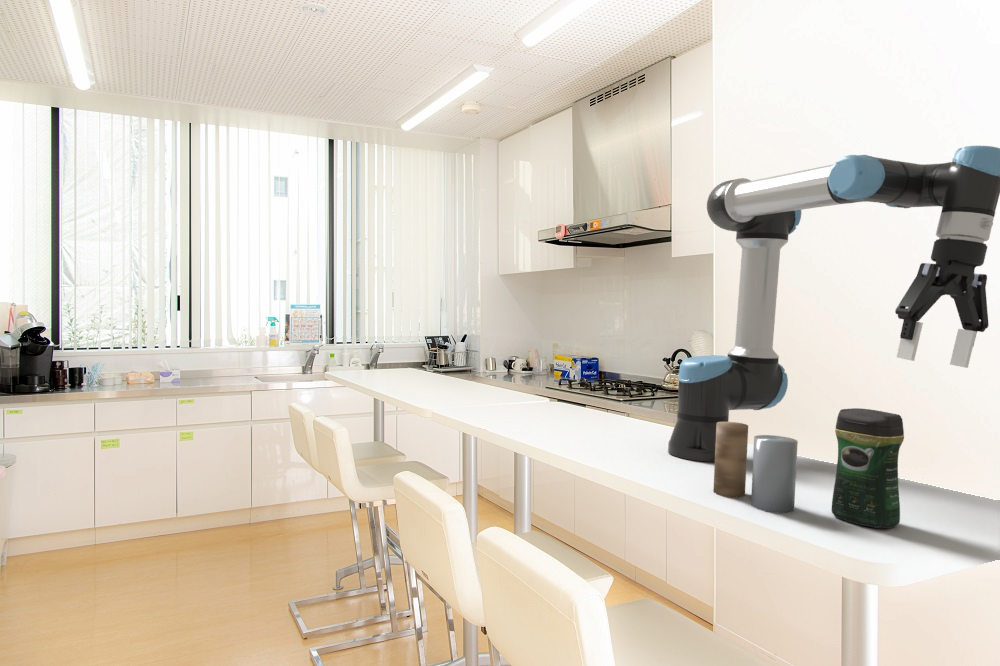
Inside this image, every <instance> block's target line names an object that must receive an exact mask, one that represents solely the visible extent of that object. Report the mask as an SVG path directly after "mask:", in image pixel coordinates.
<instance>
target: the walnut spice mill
mask: <svg viewBox="0 0 1000 666" xmlns="http://www.w3.org/2000/svg"><path fill="white" fill-rule="evenodd" d="M748 438H749V425H748V424H745V423H742V422H736V421H735V422H734V421H728V422H717V424H716V446H715V462H714V469H713V470H714V473H713V490H712V491H713V493H714V494H715V493H716V494H715V495H719V496H721V497H725V496H726V497H727V498H732V499H733V498H743V497H745V496H746V482H747V481H746V480H747V464H748V463H747V462H748V459H747V458H748V440H749V439H748Z"/></svg>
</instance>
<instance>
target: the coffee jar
mask: <svg viewBox="0 0 1000 666" xmlns="http://www.w3.org/2000/svg"><path fill="white" fill-rule="evenodd" d="M835 423H836V424H835V429H834V430H835V431H834V432H835V436H836V439H837V463H836V473H835V479H834V485H833V493H832V500H831V513H832V514H833V516H834V517H836V518H838V519H841V520H844V521H846V522H850V523H853V524H856V525H859V526H864V527H868V528H874V529H875V528H877V529H878V528H883V529H891V528H894V527H896V526H897V525H899V524H900V521H901V506H900V505H901V504H900V503H901V502H900V490H899V454H900V450H901V449H900V448H901V447H902V444H903V442H904V439H905V435H904V434H905V430H904V423H903V417H902V416H901V415H900V414H897V413H893V412H887V411H882V410H875V409H871V408H870V409H869V408H858V407H857V408H856V407H855V408H842V409H840V411H839V412H838V415H837V418H836V422H835Z"/></svg>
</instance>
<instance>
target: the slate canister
mask: <svg viewBox="0 0 1000 666" xmlns="http://www.w3.org/2000/svg"><path fill="white" fill-rule="evenodd" d="M752 457H753V458H752V472H751V473H752V477H751V497H750V498H751V500H750V501H751V502H750V505H751V507H753V508H755V509H757V510H760V511H763V512H766V513H767V512H769V513H774V514H790V513H793V512H794V511H795V501H796V499H795V498H796V479H797V459H798V439H795V438H791V437H788V436H782V435H781V436H780V435H771V434H759V435H758V434H757V435H754V437H753V452H752Z"/></svg>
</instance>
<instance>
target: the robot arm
mask: <svg viewBox="0 0 1000 666" xmlns="http://www.w3.org/2000/svg"><path fill="white" fill-rule="evenodd" d="M999 197H1000V147H997V146H992V145H991V146H990V145H967V146H964V147H960V148H957V150H956V151H955V153H954V154H953V157H952V158H951V161H949V162H944V163H931V164H930V163H927V164H920V163H914V162H906V161H899V160H894V159H893V160H892V159H886V158H883V157H876V156H871V155H867V154H859V155H857V154H849V155H846V156H842V157H841V158H840V159H839V160H838V161H836V162H835V163H834V164H830V165H823V166H819V167H815V168H808V169H804V170H800V171H795V172H790V173H785V174H780V175H774V176H769V177H764V178H759V179H755V180H750V179H748V178H744V177H742V178H735V179H730V180H726V181H723V182H721V183H719V184H717V185H716V186H715V187H714V188H713V189H712V190H711V192H710V194H708V198H707V200H706V212H707V214H708V215H707V216H708V217H709V219H710V220H711V222H712V223H713V224H715V226H716V227H719V228H720V229H722V230H724V231H725V230H726V231H728V232H729V231H730V232H736V236H735V242H736V243H737V244H738V245H739V247H741V258H740V271H739V273H740V274H739V284H738V285H739V286H738V298H737V299H738V301H737V312H736V313H737V314H736V324H735V325H736V326H735V340H734V347H732V348H731V349H730V350H729V351H727V356H726V355H714V354H713V355H699V356H691V357H687V358H685V359H683V360H682V361H681V363H680V365H679V370H678V376H677V380H678V391H677V414H676V415H677V417H676V422H675V425H674V428H673V429H672V432H671V436H670V439H669V441H668V447H667V448H668V449H667V452H668V453H669V454H670V455H672V456H675V457H676V458H677V457H678V458H681V459H685V460H692V461H699V462H709V463H710V462H713V463H715V446H716V424H717V422H729V419H730V417H729V416H730V411H739V410H740V411H741V410H743V411H744V410H753V411H760V410H764V409H765V410H766V409H771V408H774V407H775V406H777V404H779V403H781V401H782V400H783V399H784V397H785V395H786V393H787V390H788V384H789V379H788V374H787V372H785V368H784V366H783V365H782V364H780V363H779V359H780V356H779V354H777V353H776V351H775V350H774V348H773V347H774V335H775V322H776V308H777V299H778V298H777V297H778V296H777V295H778V285H779V284H778V282H779V272H780V256H781V249H782V248H783V247H784V246H785V245H786V244H787V243H788V242H789V235H791V234H792V233H794V232H795V230H796V229H797V226H799V224H800V222H801V219H802V210H808V209H815V208H822V207H830V206H836V205H845V204H846V205H847V204H848V205H849V204H855V203H865V202H866V203H867V202H869V203H879V204H885V205H886V206H887V207H889V208H890V207H891V208H900V209H901V208H903V209H910V208H923V207H924V208H927V207H929V208H930V207H941V212H940V216H939V219H938V223H937V228H936V232H935V235H936V237H937V238H938V239H935V241H934V242H933V247H932V251H931V255H930V260H931V261H932V262H934V263H929V262H928V263H926V262H925V263H924V262H922V263H920V264H919V267H918V271H917V273H916V276H915V277H914V279H913V281H912V283H910V286H909V288H908V289H907V291H906V292H905V294H904V295H903V297H902V299H900V302H899V303H898V305H897V307H896V308H895V315H897V318H898V319H899V320H902V321H903V322H902V326H901V331H900V335H899V336H900V337H899V338H900V340H899V345H898V349H897V353H896V358H897V359H902V360H907V361H912V362H913V361H915V359H916V356H917V355H916V354H917V351H918V346H919V342H920V337H921V335H922V334H921V332H922V328H923V325H924V323H923V322H920V320H921V319H922V318H923V316H925V315H926V313H928V311H929V310H930V309H931V308H932V307H933V306H934V304H936V303H937V302H938V300H939V299H940V298H941V297H942V296H945V295H946V296H950V298H951V299H953V300H954V303H955V304H954V305H955V307H956V309H957V310H956V311H957V313H958V318H959V320H960V324H961V328H957V332H956V336H955V341H954V345H953V350H952V353H951V358H950V362H949V365H952V366H955V367H956V366H957V367H959V368H960V367H962V368H966V369H967V368H969V364H970V360H971V356H972V353H973V348H974V345H975V342H976V338H977V333H978V332H979V333H980V332H981V333H984V332H985V331H986V329H988V328H989V316H988V315H989V314H988V303H987V288H986V286H987V281H988V275H987V274H985V273H984V274H983V273H975V270H976V267H981V266H983V264H984V263H985V260H986V259H985V258H986V254H987V251H988V245H987V244H986V243H985V242H987V241H989V240H990V238H991V237H990V236H991V233H992V228H993V225H994V219H995V215H996V210H997V205H998V203H999V199H1000V198H999Z"/></svg>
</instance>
